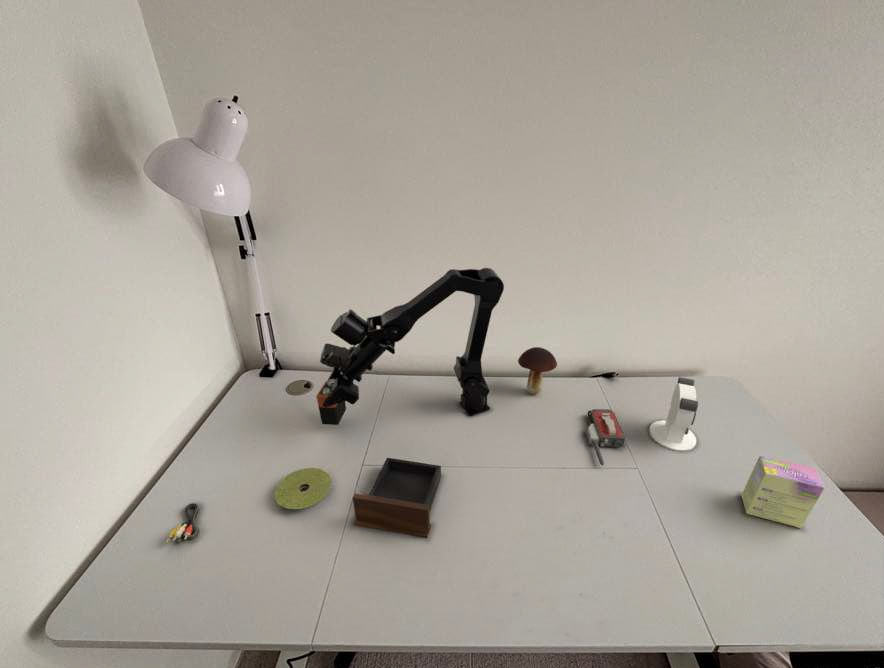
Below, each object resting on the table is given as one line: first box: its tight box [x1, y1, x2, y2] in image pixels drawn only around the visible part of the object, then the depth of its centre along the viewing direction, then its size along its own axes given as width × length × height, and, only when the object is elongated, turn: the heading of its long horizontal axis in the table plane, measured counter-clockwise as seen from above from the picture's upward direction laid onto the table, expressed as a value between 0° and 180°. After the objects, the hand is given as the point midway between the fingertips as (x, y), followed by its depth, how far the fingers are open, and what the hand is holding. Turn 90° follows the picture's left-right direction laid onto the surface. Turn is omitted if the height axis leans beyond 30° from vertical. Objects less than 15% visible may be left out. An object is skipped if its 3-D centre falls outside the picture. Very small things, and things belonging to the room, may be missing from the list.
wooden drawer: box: [352, 457, 442, 539], centre depth 91 cm, size 16×15×7 cm
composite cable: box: [165, 502, 200, 544], centre depth 85 cm, size 10×5×2 cm, turn 10°
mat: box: [274, 467, 332, 510], centre depth 93 cm, size 11×11×2 cm
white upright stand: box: [648, 376, 699, 452], centre depth 110 cm, size 12×11×15 cm
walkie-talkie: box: [586, 408, 626, 466], centre depth 110 cm, size 9×4×20 cm
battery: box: [315, 379, 347, 426], centre depth 110 cm, size 4×7×10 cm, turn 176°
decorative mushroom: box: [517, 346, 558, 395], centre depth 125 cm, size 11×11×15 cm
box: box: [741, 455, 826, 529], centre depth 90 cm, size 10×6×12 cm, turn 71°
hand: (324, 396), depth 109 cm, fingers closed on battery, 7 cm apart
